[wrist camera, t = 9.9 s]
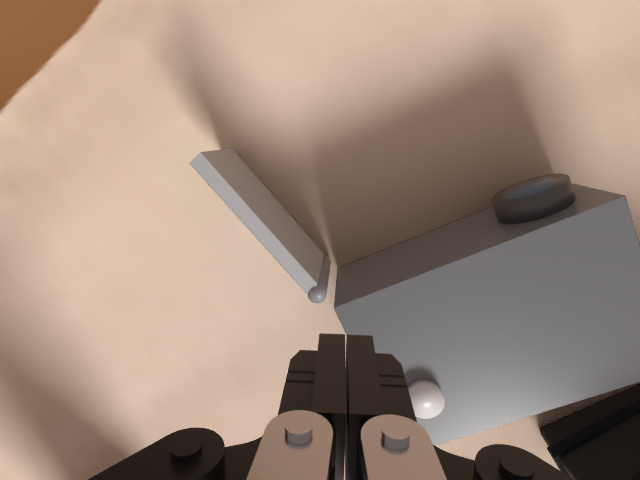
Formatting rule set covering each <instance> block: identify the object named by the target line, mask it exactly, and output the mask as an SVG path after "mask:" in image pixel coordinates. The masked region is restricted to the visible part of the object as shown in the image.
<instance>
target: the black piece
mask: <svg viewBox="0 0 640 480" xmlns="http://www.w3.org/2000/svg"><path fill="white" fill-rule="evenodd" d="M540 433H541V435H542V437H543V438H544V440H545V442H546V443H547V445H548V447H547V449H548V451H549V453H550V454H551V456H552V458H553V459H554V461H555V463H556V464H557V466H558V468H559V469H560V471H561V472H562V473H564V474H566V475H567V476H569V477H570V478H572V479H574V480H640V384H639V385H637V386H635V387H632V388H630V389H628V390H626V391H623V392H621V393H619V394H617V395H614V396H612V397H610V398H608V399H605V400H603V401H601V402H599V403H596V404H594V405H592V406H590V407H587V408H585V409H583V410H581V411H578V412H576V413H574V414H572V415H569V416H567V417H565V418H563V419H560V420H558V421H556V422H554V423H551V424H549V425H547V426H545V427H542V428H541V429H540Z"/></svg>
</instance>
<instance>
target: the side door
mask: <svg viewBox="0 0 640 480" xmlns="http://www.w3.org/2000/svg"><path fill="white" fill-rule="evenodd" d="M189 164H190V165H191V166H192V167H193V168H194V169H195V170H196V171H197V172H198V174H199V175H200V176H201V177H202V178H203V179H204V180H205V181H206V183H207V184H208V185H209V186H210V187H211V188H212V189H213V190H214V191H215V193H216V194H217V195H218V196H219V197H220V198H221V199H222V200H223V201H224V203H225V204H226V205H227V206H228V207H229V208H230V209H231V210H232V212H233V213H234V214H235V215H236V216H237V217H238V218H239V219H240V220H241V222H242V223H243V224H244V225H245V226H246V227H247V228H248V229H249V230H250V232H251V233H252V234H253V235H254V236H255V237H256V238H257V239H258V240H259V242H260V243H261V244H262V245H263V246H264V247H265V248H266V249H267V251H268V252H269V253H270V254H271V255H272V256H273V257H274V258H275V259H276V261H277V262H278V263H279V264H280V265H281V266H282V267H283V268H284V269H285V271H286V272H287V273H288V274H289V275H290V276H291V277H292V278H293V280H294V281H295V282H296V283H297V284H298V285H299V286H300V287H301V288H302V290H303V291H304V292H305V293H308V298H309V299H310V301H312V302H313V303H321V302H323V301H324V300H325V298H326V293H327V286H328V279H329V272H330V265H331V260H330V258H329V257H328V256H325V255H324V253H323V252H322V251H321V250H320V249H319V247H318V246H317V245H316V244H315V243H314V242H313V241H312V239H311V238H310V237H309V236H308V235H307V234H306V233H305V231H304V230H303V229H302V228H301V227H300V226H299V224H298V223H297V222H296V221H295V220H294V219H293V218H292V216H291V215H290V214H289V213H288V212H287V211H286V210H285V208H284V207H283V206H282V205H281V204H280V203H279V202H278V200H277V199H276V198H275V197H274V196H273V195H272V194H271V192H270V191H269V190H268V189H267V188H266V187H265V185H264V184H263V183H262V182H261V181H260V180H259V179H258V177H257V176H256V175H255V174H254V173H253V172H252V171H251V169H250V168H249V167H248V166H247V165H246V164H245V163H244V161H243V160H242V159H241V158H240V157H239V156H238V154H237V153H236V152H235V151H234V150H233V149H232V148H230V149H222V150H214V151H207V152H200V153H199V154H198V155H197V156H196V157H195V158H194V159H193V160H192V161H191V162H190V163H189Z"/></svg>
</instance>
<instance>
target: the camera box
mask: <svg viewBox="0 0 640 480" xmlns="http://www.w3.org/2000/svg"><path fill="white" fill-rule="evenodd" d="M491 203H492V206H491V207H489V208H486V209H484V210H481V211H479V212H476V213H474V214H471V215H469V216H466V217H464V218H461V219H459V220H456V221H454V222H451V223H449V224H446V225H444V226H441V227H439V228H437V229H434V230H432V231H429V232H427V233H424V234H422V235H419V236H417V237H414V238H412V239H409V240H407V241H404V242H402V243H399V244H397V245H394V246H392V247H389V248H387V249H384V250H382V251H379V252H377V253H374V254H372V255H369V256H367V257H364V258H362V259H359V260H357V261H354V262H352V263H349V264H347V265H344V266H342V267H339V268H337V279H336V291H335V302H334V309H335V311H336V313H337V316H338V318H339V320H340V322H341V324H342V326H343V328H344V330H345V333H346V335H372V336H373V342H374V348H375V353H383V354H392V355H393V356H394V357H395V358H396V359H397V360H398V361H399V362H400V363H401V364H402V368H403V371H404V375H405V379H406V383H407V388H408V390H409V394H410V398H411V401H412V405H413V409H414V413H415V416H416V420H417V423H418V424H420V425H421V426H422V427H423V428H424V429H425V430H426V431H427V433H428V435H429V437H430V439H431V441H432V444H433V445H434V446H436V445H440V444H443V443H446V442H449V441H452V440H456V439H459V438H462V437H465V436H468V435H472V434H475V433H478V432H481V431H484V430H488V429H491V428H494V427H497V426H500V425H504V424H507V423H510V422H513V421H516V420H520V419H523V418H526V417H529V416H533V415H536V414H539V413H542V412H545V411H549V410H552V409H555V408H558V407H561V406H565V405H568V404H571V403H574V402H577V401H581V400H584V399H587V398H590V397H593V396H597V395H600V394H603V393H606V392H610V391H613V390H616V389H619V388H622V387H626V386H629V385H632V384H635V383H638V382H640V246H639V242H638V239H637V235H636V232H635V228H634V225H633V221H632V217H631V214H630V210H629V207H628V203H627V200H626V196H624V195H620V194H615V193H611V192H607V191H602V190H598V189H593V188H589V187H585V186H580V185H576V184H571V181H570V178H569V176H568V175H565V174H552V175H545V176H541V177H536V178H533V179H529V180H526V181H523V182H520V183H517V184H515V185H512V186H510V187H508V188H506V189H504V190H502V191H500V192H499V193H497V194H496V195H494V196H493V197H492V199H491Z"/></svg>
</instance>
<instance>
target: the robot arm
mask: <svg viewBox="0 0 640 480" xmlns="http://www.w3.org/2000/svg"><path fill="white" fill-rule="evenodd" d="M344 457H345V480H574V479H572V478H570V477H569V476H567V475H566V474H564V473H562V472H561V471H559V470H558V469H556V468H554V467H553V466H551V465H550V464H548V463H546V462H545V461H543V460H542V459H540V458H538V457H537V456H535V455H533V454H532V453H530V452H528V451H526V450H523V449H521V448H518V447H514V446H510V445H503V444H495V445H489V446H486V447H484V448H482V449H481V450H480V451H479V452H478V453H477V455H476V458H475V461H474V460H470V459H467V458H464V457H460V456H457V455H454V454H451V453H448V452H446V451H443V450H441V449H439V448H438V447H436V446H434V445H433V444H432V441H431V439H430V437H429V435H428V433H427V431H426V430H425V429H424V428H423V427H422V426H421V425H420V424H418V423H417V420H416V416H415V413H414V409H413V405H412V401H411V398H410V394H409V390H408V388H407V383H406V379H405V375H404V371H403V368H402V364H401V363H400V362H399V361H398V360H397V359H396V358H395V357H394V356H393V355H392V354H383V353H375V348H374V342H373V336H372V335H347V342H346V368H345V334H321V333H320V335H319V344H318V351H311V350H300V351H299V352H298V353H297V354H296V355H295V356H294V357H293V358H292V359H291V360H290V364H289V369H288V373H287V377H286V382H285V386H284V390H283V395H282V399H281V403H280V408H279V412H278V416H276V417H275V418H273V419H272V420H271V421H270V422H269V423H268V425H267V427H266V429H265V431H264V434H263V436H262V437H260V438H258V439H256V440H254V441H251V442H248V443H244V444H239V445H234V446H229V447H224V442H223V439H222V438H221V436H220V435H218V434H217V433H216V432H214V431H212V430H209V429H205V428H187V429H183V430H179V431H176V432H174V433H171V434H169V435H167V436H166V437H164V438H162V439H160V440H158V441H157V442H155V443H153V444H151V445H149V446H148V447H146V448H144V449H142V450H140V451H139V452H137V453H135V454H133V455H131V456H130V457H128V458H126V459H124V460H122V461H121V462H119V463H117V464H115V465H113V466H112V467H110V468H108V469H106V470H104V471H103V472H101V473H99V474H97V475H95V476H94V477H92V478H90V479H88V480H344Z"/></svg>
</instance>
